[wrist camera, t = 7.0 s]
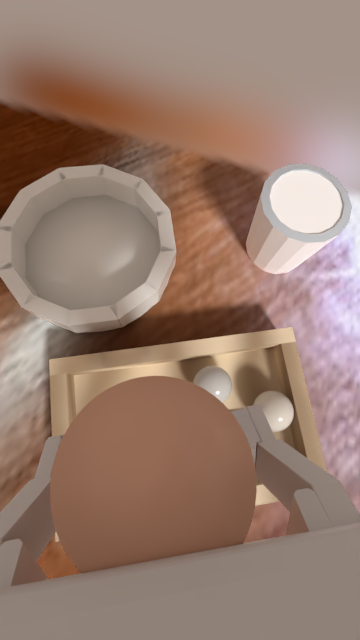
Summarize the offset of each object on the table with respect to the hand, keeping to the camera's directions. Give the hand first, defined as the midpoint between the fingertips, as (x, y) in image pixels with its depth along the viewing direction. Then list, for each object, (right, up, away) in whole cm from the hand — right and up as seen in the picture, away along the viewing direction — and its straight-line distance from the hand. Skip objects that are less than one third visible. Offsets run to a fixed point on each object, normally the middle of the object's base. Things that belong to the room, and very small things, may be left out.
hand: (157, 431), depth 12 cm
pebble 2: (+8, -3, +13) cm, 16 cm away
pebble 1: (+4, -1, +11) cm, 11 cm away
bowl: (-7, +10, +17) cm, 21 cm away
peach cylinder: (0, -2, +5) cm, 6 cm away
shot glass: (+10, +11, +18) cm, 23 cm away
